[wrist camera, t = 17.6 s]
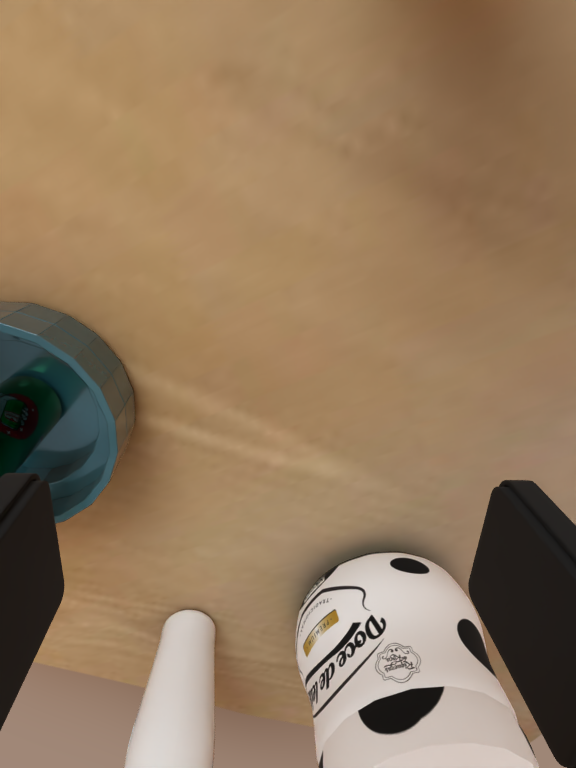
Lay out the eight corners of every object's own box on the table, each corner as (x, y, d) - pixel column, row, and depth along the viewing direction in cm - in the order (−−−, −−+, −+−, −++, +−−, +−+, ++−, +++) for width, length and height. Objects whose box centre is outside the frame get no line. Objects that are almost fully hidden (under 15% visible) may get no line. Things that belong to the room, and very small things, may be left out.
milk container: (286, 544, 46) (304, 747, 29) (464, 526, 46) (581, 716, 30) (297, 669, 52) (317, 893, 36) (452, 653, 53) (543, 866, 36)
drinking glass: (199, 591, 47) (176, 758, 33) (235, 632, 50) (228, 804, 36) (142, 619, 48) (97, 793, 34) (181, 658, 51) (153, 836, 37)
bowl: (-97, 295, 35) (-163, 315, 29) (129, 305, 36) (107, 325, 31) (-51, 483, 41) (-99, 529, 35) (141, 485, 42) (124, 530, 37)
